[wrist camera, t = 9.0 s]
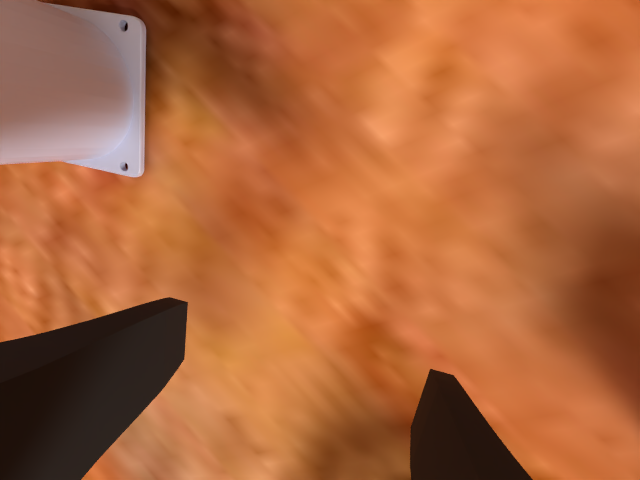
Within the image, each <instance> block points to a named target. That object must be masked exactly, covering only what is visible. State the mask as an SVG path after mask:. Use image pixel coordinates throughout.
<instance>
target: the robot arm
mask: <svg viewBox="0 0 640 480" xmlns="http://www.w3.org/2000/svg"><path fill="white" fill-rule="evenodd" d="M126 23H128V30H127V31H125V24H126ZM145 75H146V26H145V24H144V22H143V21H142V20H141V19H139V18H137V17H134V16H130V15H123V14H116V13H110V12H103V11H96V10H90V9H83V8H76V7H70V6H63V5H56V4H49V3H43V2H40V1H37V0H0V164H16V163H34V162H51V161H63V162H67V163H72V164H76V165H80V166H85V167H89V168H94V169H98V170H103V171H107V172H112V173H116V174H121V175H125V176H130V177H139V176H141V175H142V174H143V173H144V146H145ZM125 163H127V165H128V170H127V169H126V167H125ZM187 306H188V302H185V301H181V300H177V299H174V298H170V297H169V298H164V299H160V300H156V301H152V302H149V303H145V304H142V305H138V306H135V307H132V308H129V309H125V310H122V311H119V312H116V313H112V314H109V315H106V316H102V317H99V318H96V319H92V320H89V321H85V322H82V323H78V324H74V325H71V326H67V327H63V328H60V329H56V330H52V331H49V332H45V333H41V334H37V335H33V336H28V337H24V338H19V339H15V340H10V341H5V342H0V480H81V479H82V478H83V477H84V475H85V474H86V473H87V472H88V471H89V470H90V468H91V467H92V466H93V465H94V464H95V463H96V461H97V460H98V459H99V458H100V457H101V456H102V455H103V454H104V453H105V451H106V450H107V449H108V448H109V447H110V446H111V445H112V444H113V443H114V442H115V441H116V440H117V438H118V437H119V436H120V435H121V434H122V433H123V432H124V431H125V430H126V429H127V428H128V427H129V426H130V424H131V423H132V422H133V421H134V420H135V419H136V418H137V417H138V416H139V415H140V414H141V413H142V412H143V410H144V409H145V408H146V407H147V406H148V405H149V404H150V403H151V402H152V401H153V399H154V398H155V397H156V396H157V395H158V394H159V393H160V392H161V391H162V389H163V388H164V387H165V386H166V384H167V383H168V381H169V380H170V379H171V377H172V376H173V375H174V373H175V372H176V370H177V369H178V367H179V366H180V365H181V363H182V362H183V360H184V355H185V338H186V322H187ZM410 469H411V480H532V478H531V477H530V476H529V475H528V474H527V472H526V471H525V470H524V469H523V468H522V466H521V465H520V464H519V463H518V461H517V460H516V459H515V458H514V456H513V455H512V454H511V453H510V451H509V450H508V449H507V447H506V446H505V445H504V444H503V442H502V441H501V440H500V438H499V437H498V436H497V434H496V433H495V432H494V430H493V429H492V428H491V426H490V425H489V424H488V422H487V421H486V420H485V418H484V417H483V415H482V414H481V413H480V411H479V410H478V408H477V407H476V406H475V404H474V403H473V401H472V400H471V399H470V397H469V396H468V394H467V393H466V392H465V390H464V389H463V387H462V386H461V385H460V383H459V382H458V381H457V379H456V378H455V377H454V375H451V374H447V373H444V372H440V371H436V370H433V369H430V371H429V374H428V377H427V380H426V383H425V386H424V389H423V392H422V395H421V398H420V401H419V404H418V407H417V410H416V413H415V416H414V419H413V422H412V425H411V443H410Z"/></svg>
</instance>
